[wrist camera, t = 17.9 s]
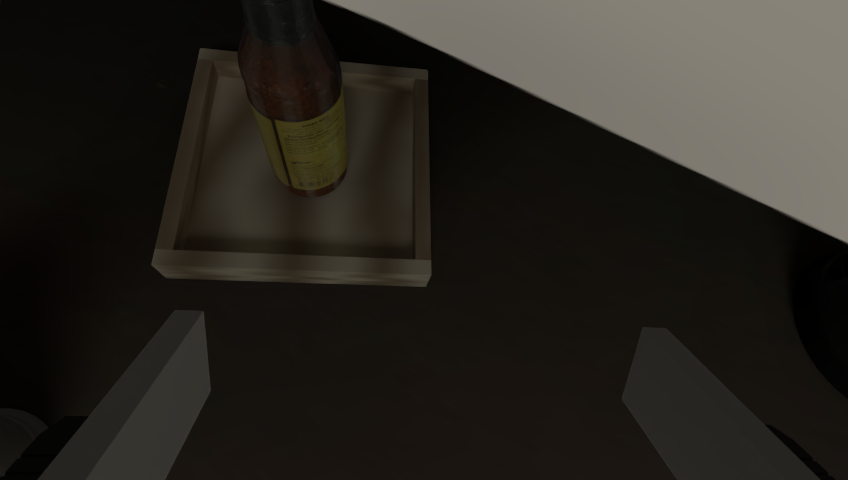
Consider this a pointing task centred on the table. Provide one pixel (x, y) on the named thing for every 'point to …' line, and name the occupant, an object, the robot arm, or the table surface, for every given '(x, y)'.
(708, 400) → the robot arm
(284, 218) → the birch tray
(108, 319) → the table surface
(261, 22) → the sauce bottle
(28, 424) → the glass holder
